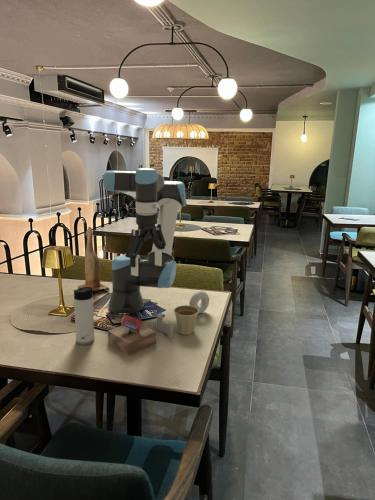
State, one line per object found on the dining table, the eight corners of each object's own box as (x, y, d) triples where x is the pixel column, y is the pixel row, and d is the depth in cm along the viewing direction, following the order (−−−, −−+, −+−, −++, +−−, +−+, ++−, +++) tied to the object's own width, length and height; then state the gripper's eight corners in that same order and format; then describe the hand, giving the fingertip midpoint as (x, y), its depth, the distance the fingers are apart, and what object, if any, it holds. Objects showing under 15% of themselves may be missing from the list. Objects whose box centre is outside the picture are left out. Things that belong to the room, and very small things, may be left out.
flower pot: (180, 339, 134) (180, 317, 132) (169, 328, 142) (169, 307, 140) (202, 334, 139) (203, 312, 136) (190, 324, 147) (191, 303, 144)
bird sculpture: (97, 285, 186) (93, 223, 179) (110, 291, 178) (107, 226, 171) (77, 291, 179) (72, 225, 171) (90, 297, 171) (85, 229, 163)
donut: (192, 317, 152) (193, 295, 150) (187, 315, 155) (188, 292, 152) (210, 312, 158) (211, 290, 156) (205, 309, 161) (206, 287, 158)
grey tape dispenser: (169, 338, 135) (155, 327, 143) (172, 337, 136) (157, 326, 144) (170, 323, 134) (155, 313, 141) (173, 323, 134) (158, 313, 142)
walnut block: (108, 343, 130) (107, 330, 129) (135, 332, 139) (135, 320, 138) (128, 356, 122) (128, 343, 121) (156, 344, 131) (156, 331, 129)
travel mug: (85, 347, 127) (83, 292, 122) (72, 341, 130) (69, 288, 125) (98, 340, 132) (97, 287, 127) (85, 335, 135) (83, 283, 130)
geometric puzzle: (148, 322, 132) (135, 305, 130) (145, 331, 125) (131, 312, 124) (132, 332, 133) (119, 315, 132) (129, 341, 126) (114, 323, 125)
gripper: (130, 220, 118) (132, 282, 124) (175, 209, 138) (174, 263, 144) (113, 217, 122) (115, 277, 128) (159, 207, 142) (159, 259, 148)
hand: (146, 270), depth 136 cm, fingers open, 13 cm apart
